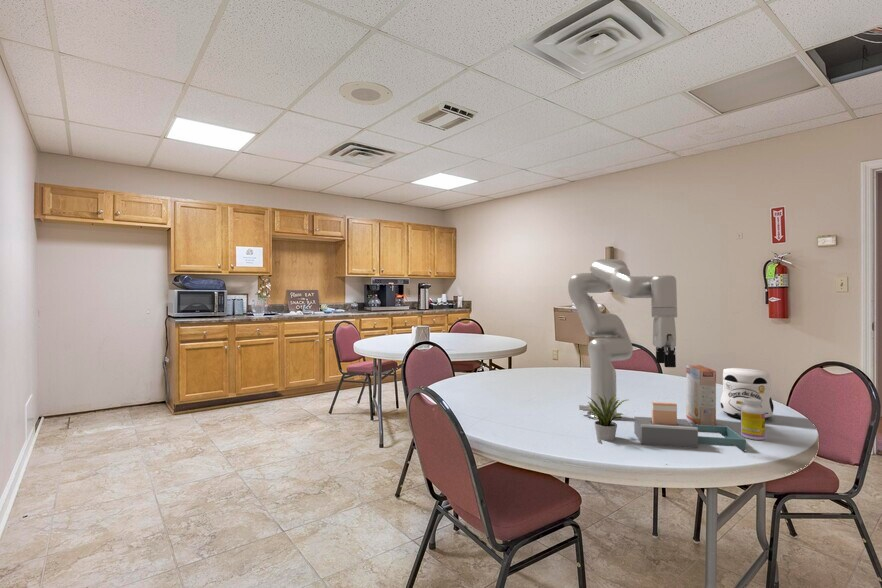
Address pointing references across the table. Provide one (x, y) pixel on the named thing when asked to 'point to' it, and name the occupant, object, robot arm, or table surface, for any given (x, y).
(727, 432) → the tray
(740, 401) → the milk container
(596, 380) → the robot arm
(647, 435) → the dispenser
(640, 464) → the table surface
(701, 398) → the cracker box
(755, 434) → the supplement bottle
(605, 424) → the house plant
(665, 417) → the peach slab cream top
